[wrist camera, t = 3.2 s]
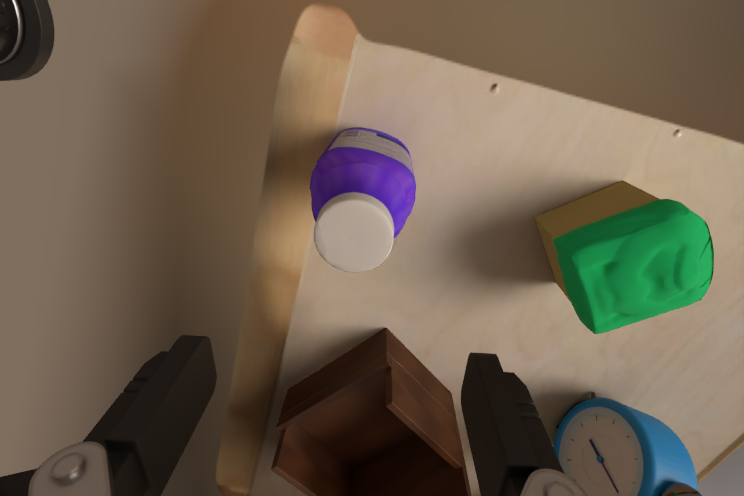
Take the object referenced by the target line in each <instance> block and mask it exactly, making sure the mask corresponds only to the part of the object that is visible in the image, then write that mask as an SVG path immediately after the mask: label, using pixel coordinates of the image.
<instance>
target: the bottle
mask: <svg viewBox="0 0 744 496" xmlns="http://www.w3.org/2000/svg"><path fill="white" fill-rule="evenodd" d="M310 190H311V197H312V211H313V216H314V219H315V221H316V224H315V228H314V241H315V245H316V248H317V250H318V252H319V254H320V255H321V256H322V258H323V259H324V260H325V261H326V262H328V263H329V264H330V265H332V266H333V267H335V268H337V269H340V270H343V271H346V272H364V271H368V270H371V269H373V268H375V267H377V266H378V265H380V264H381V263H382V262H383V261H384V260H385V259H386V258H387V256H388V255H389V253H390V251H391V249H392V246H393V239H394V238H395V237H396V236H397V235H398V234H399V232H400V231H401V229H402V228H403V226H404V224H405V221H406V219H407V217H408V216H409V215H410V213H411V211H412V208H413V205H414V202H415V191H416V184H415V178H414V174H413V169H412V164H411V159H410V154H409V151H408V149H407V148H406V146H405V145H404V144H403V143H402V142H401V141H399V140H398V139H396V138H394V137H392V136H390V135H388V134H386V133H383V132H380V131H376V130H372V129H366V128H350V129H346V130H344V131H342V132H340V133H339V134H338V135H337V136H336V137H335V138H334V139H333V141H332V142H331V144H330V145H329V146H328V148H327V149H326V150H325V152H324V153H323V154H322V155H321V157H320V158H319V160H318V161H317V165H316V168H315V169H314V170H313V172H312V176H311V182H310Z"/></svg>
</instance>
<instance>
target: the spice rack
mask: <svg viewBox="0 0 744 496" xmlns="http://www.w3.org/2000/svg"><path fill="white" fill-rule="evenodd" d="M277 428H278V429H279V430H280V431H282V432H281V435H280V439H279V442H278V446H277V450H276V453H275V457H274V460H273V464H272V467H271V470H272V471H273V472H275V473H276V474H278V475H279V476H280V477H282V478H283V479H285V480H286V481H288V482H289V483H290V484H292V485H293V486H295V487H296V488H297V489H299V490H300V491H302V492H303V493H305V494H306V495H307V496H472V495H471V490H470V485H469V480H468V475H467V470H466V465H465V460H464V455H463V450H462V445H461V440H460V435H459V430H458V425H457V420H456V414H455V409H454V404H453V399H452V394H451V392H450V391H449V390H448V389H447V388H446V387H445V386H444V385H443V384H442V383H441V382H440V381H439V380H438V379H437V378H436V377H435V376H434V375H433V374H432V373H431V372H430V371H429V370H428V369H427V368H426V367H425V366H424V365H423V364H422V363H421V362H420V361H419V360H418V359H417V358H416V357H415V356H414V355H413V354H412V353H411V352H410V351H409V350H408V349H407V348H406V347H405V346H404V345H403V344H402V343H401V342H400V341H399V340H398V339H397V338H396V337H395V336H394V335H393V334H392V333H391V332H390V331H389V330H388V329H387V328H385V329H384V330H382V331H380V332H379V333H377V334H376V335H374V336H372V337H371V338H369V339H368V340H366V341H365V342H363V343H361V344H360V345H358V346H357V347H355V348H353V349H352V350H350V351H349V352H347V353H346V354H344V355H342V356H341V357H339V358H338V359H336V360H335V361H333V362H331V363H330V364H328V365H327V366H325V367H323V368H322V369H320V370H319V371H317V372H316V373H314V374H312V375H311V376H309V377H308V378H306V379H304V380H303V381H301V382H300V383H298V384H297V385H295V386H293V387H292V388H290V389H289V390H288V391H287V394H286V398H285V401H284V404H283V408H282V411H281V414H280V418H279V421H278V424H277Z"/></svg>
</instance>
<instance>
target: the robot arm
mask: <svg viewBox="0 0 744 496" xmlns="http://www.w3.org/2000/svg"><path fill="white" fill-rule="evenodd" d="M25 34H26V24H25V17H24V12H23V9H22V6H21V3H20V0H0V65H2V64H5V63H8V62H10V61H11V60H13V59H14V58H15V57H16V56H17V55H18V54H19V52H20V51H21V49H22V47H23V44H24V40H25ZM215 385H216V369H215V363H214V357H213V352H212V346H211V341H210V339H209V337H206V336H188V335H182V336H180V337H179V339H178V340H177V341H176V342H175V344H174V345H173V346H172V348H171V349H170V350H169V352H160V353H159V354H157V355H156V356H154V357H153V358H151V359H150V360H149V361H147V362H146V363H145V364H144V365H143V366H142V367H141V369H140V370H139V371H138V373H137V374H136V375H135V376H134V378H133V381H130V383H129V384H128V385H127V386H126V388H125V389H124V392H123V393H121V394H120V395H119V397H118V398H117V399H116V400H115V402H114V403H113V404H112V405H111V407H110V408H109V409H108V411H107V412H106V413H105V414H104V416H103V417H102V418H101V419H100V421H99V422H98V423H97V424H96V426H95V427H94V428H93V430H92V431H91V432H90V433H89V434H88V436H87V437H86V438H85V439H84V441H83V442H80V443H77V444H73V445H70V446H68V447H66V448H63V449H62V450H60V451H58V452H56V453H55V454H53V455H52V456H51V457H49V458H48V459H47V460H46V461H45V462H44V463H43V464H42V465H41V466H40V467H39V468H37V469H34V470H29V471H25V472H20V473H16V474H12V475H8V476H3V477H0V496H161V494H162V492H163V490H164V488H165V486H166V484H167V482H168V480H169V478H170V476H171V474H172V473H173V470H174V469H175V466H176V465H177V463H178V461H179V459H180V457H181V455H182V453H183V451H184V449H185V447H186V445H187V443H188V441H189V439H190V438H191V436H192V434H193V432H194V430H195V428H196V426H197V424H198V422H199V420H200V418H201V416H202V414H203V412H204V410H205V408H206V406H207V404H208V402H209V401H210V399H211V396H212V395H213V392H214V389H215ZM461 405H462V411H463V416H464V420H465V425H466V429H467V434H468V439H469V443H470V448H471V452H472V457H473V461H474V466H475V470H476V475H477V479H478V484H479V488H480V493H481V496H588V495H587V494H586V492H585V491H584V490H583V488H582V487H581V486H580V485H579V484H578V483H577V482H575V481H574V480H573V479H572V478H570V477H569V476H567V475H566V474H565V473H564V471H563V469H562V467H561V465H560V462H559V460H558V458H557V455H556V453H555V451H554V449H553V446H552V444H551V442H550V439H549V437H548V435H547V432H546V430H545V428H544V426H543V423H542V421H541V419H540V418H539V414H538V412H537V409H536V407H535V405H533V400H532V398H531V396H530V393H529V391H528V389H527V386H526V385H525V384H524V383H523V382H522V381H521V380H520V379H519V378H518V377H517V376H516V375H515V374H514V373H510V372H503V370H502V367H501V365H500V362H499V359H498V357H497V355H496V354H486V353H470V354H469V357H468V361H467V366H466V371H465V375H464V380H463V385H462V390H461Z"/></svg>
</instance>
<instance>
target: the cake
mask: <svg viewBox="0 0 744 496" xmlns="http://www.w3.org/2000/svg"><path fill="white" fill-rule="evenodd" d="M534 218H535V221H536V224H537V227H538V230H539V233H540V236H541V239H542V242H543V245H544V248H545V251H546V254H547V257H548V260H549V263H550V266H551V269H552V272H553V275H554V278H555V281H556V283H557V285H558V286H559V287H560V288H561V290H562V291H563V292H564V294H565V295H566V296H567V298H568V299H569V300H570V301H571V303H572V305H573V307H574V309H575V312H576V314H577V316H578V317H579V319H580V320H581V321H582V323H583V324H584V325H585V326H586V327H587V328H588V329H590V330H591V331H592V332H593V333H594V334H599V333H604V332H608V331H611V330H614V329H617V328H619V327H622V326H625V325H628V324H632V323H635V322H638V321H641V320H644V319H647V318H650V317H654V316H657V315H659V314H662V313H665V312H668V311H671V310H675V309H678V308H681V307H685V306H688V305H690V304H692V303H694V302H697V301H699V300H702V297H703V296H704V295H705V293H706V292H707V290H708V288H709V285H710V283H711V280H712V276H713V260H714V251H713V244H712V239H711V235H710V232H709V228H708V225H707V224H706V222H705V221H704V220H703V219H702V218H701V217H699V216H698V215H697V214H695V213H693V212H692V211H691V210H689V209H688V208H687V207H686V206H685V205H683V204H682V203H680V202H677V201H674V200H669V199H662V200H661V199H658V198H656V197H654V196H652V195H650V194H648V193H646V192H645V191H643V190H641V189H639V188H637V187H635V186H633V185H631V184H629V183H627V182H625V181H621V182H619V183H616V184H614V185H611V186H609V187H606V188H604V189H602V190H599V191H597V192H594V193H592V194H589V195H587V196H584V197H582V198H580V199H577V200H575V201H572V202H570V203H567V204H565V205H563V206H560V207H558V208H555V209H553V210H550V211H548V212H545V213H543V214H541V215H538V216H536V217H534Z"/></svg>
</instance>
